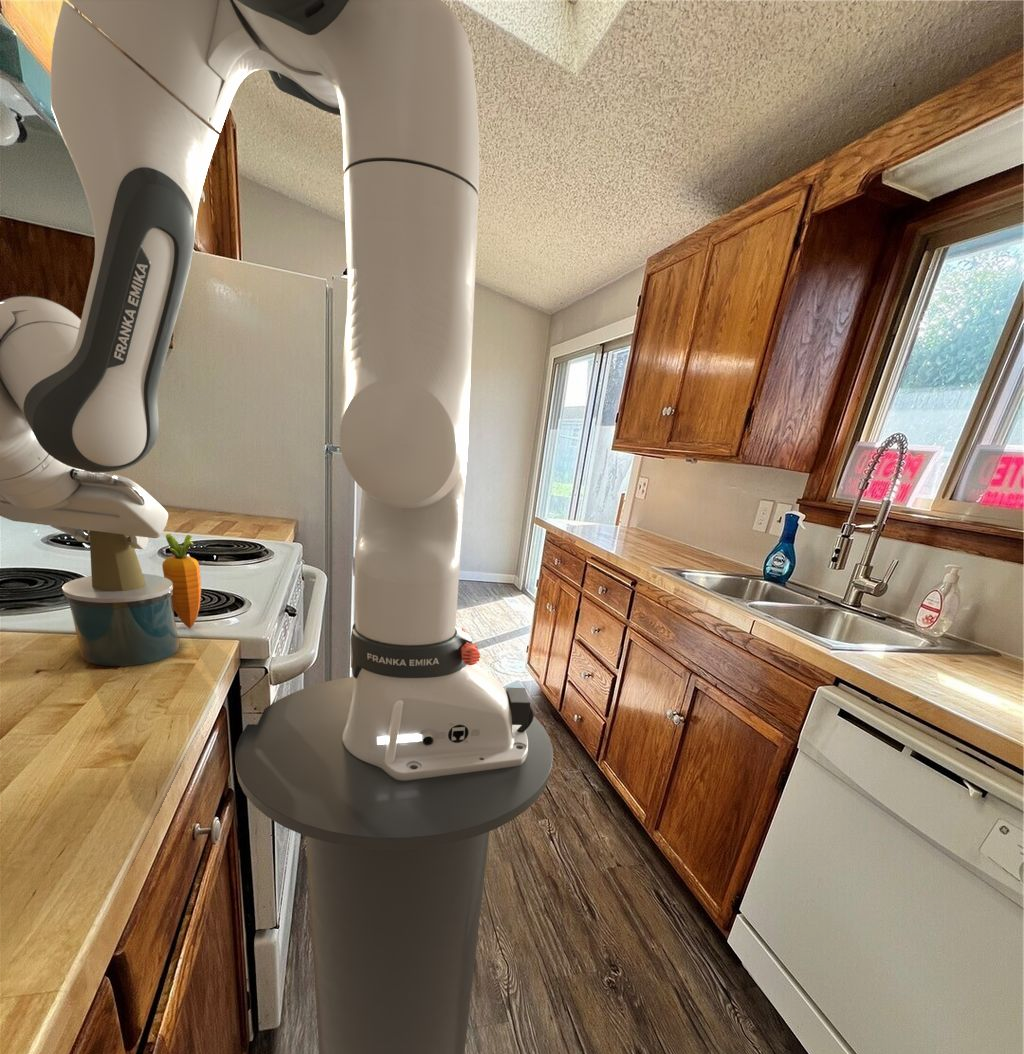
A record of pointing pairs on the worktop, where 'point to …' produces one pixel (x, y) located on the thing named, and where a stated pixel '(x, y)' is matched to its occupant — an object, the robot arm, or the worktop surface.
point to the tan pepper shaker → (114, 563)
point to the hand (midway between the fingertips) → (115, 541)
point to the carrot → (183, 580)
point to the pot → (123, 622)
